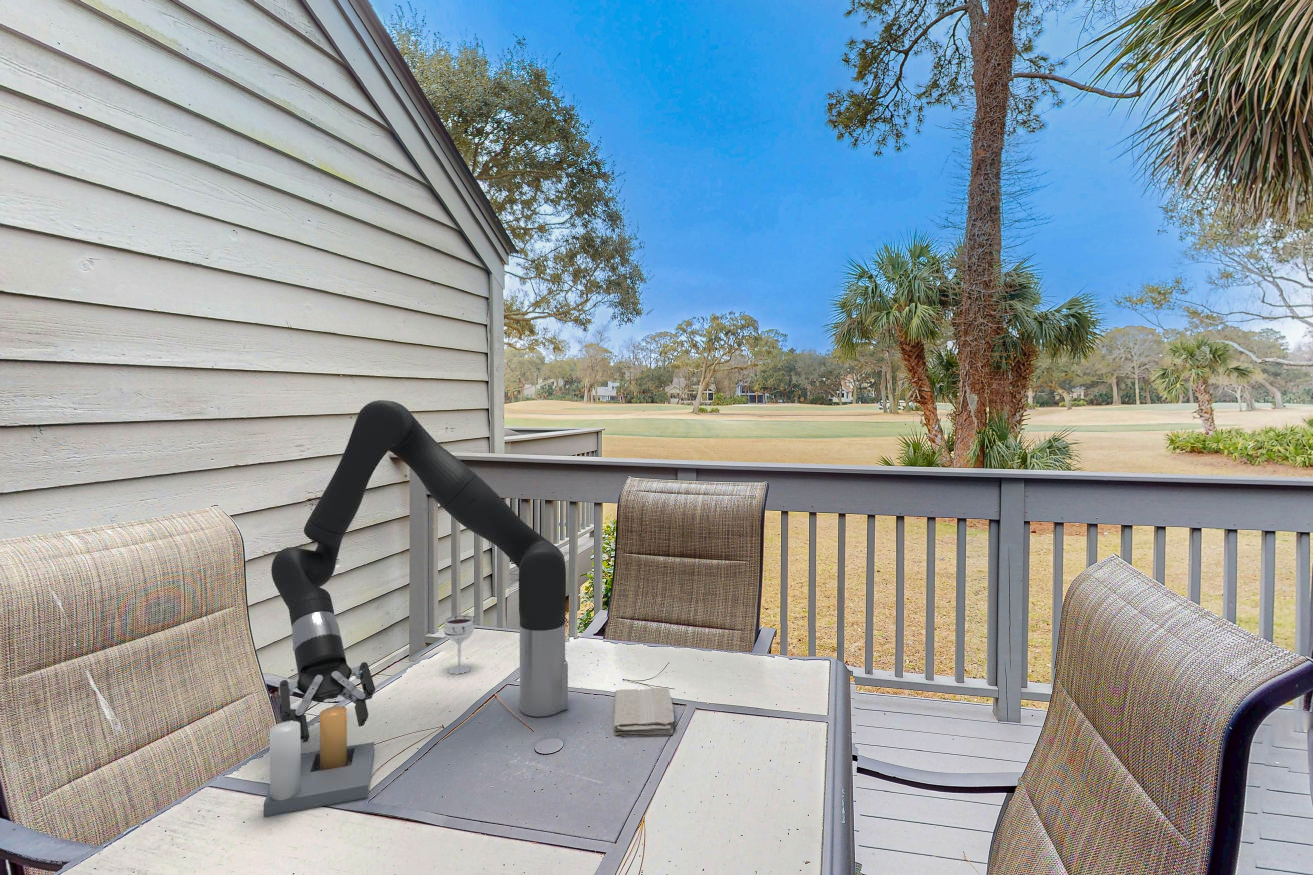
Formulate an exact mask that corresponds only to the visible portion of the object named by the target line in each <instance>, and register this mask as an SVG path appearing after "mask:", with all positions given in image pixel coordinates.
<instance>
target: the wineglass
mask: <svg viewBox="0 0 1313 875" xmlns="http://www.w3.org/2000/svg"><path fill="white" fill-rule="evenodd" d="M473 621H474V617H473V616H472V615H468V614H466V615H464V614H463V615H461V614H460V615H452V616H450V617H447V618H445V619H444V623H445V625H444V628H443V632H444V635H445V637H446V638H447V639H448V640H450V641H451V642H454V643H455V644H456V645H457V660H458V662H457V663H458V666H454V667H452V669H451V668H450V669H448V671H449V672H450V673H455V674H454V675H460V674H459V673H463V674H465V673H464V672H466V673H468V672H469V671H468V670H469V668H470V667H469V666H467V667H465V665H461V657H462V656H461V655H462V653H461V652H462V643H464V642H465V641H467V640H468V639H469V638H470V637H471V636H472V635H473V633H474V630H475V624H474V623H473ZM468 667H469V668H468ZM467 671H468V672H467ZM449 672H448V673H449ZM450 673H449V674H450Z"/></svg>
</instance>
